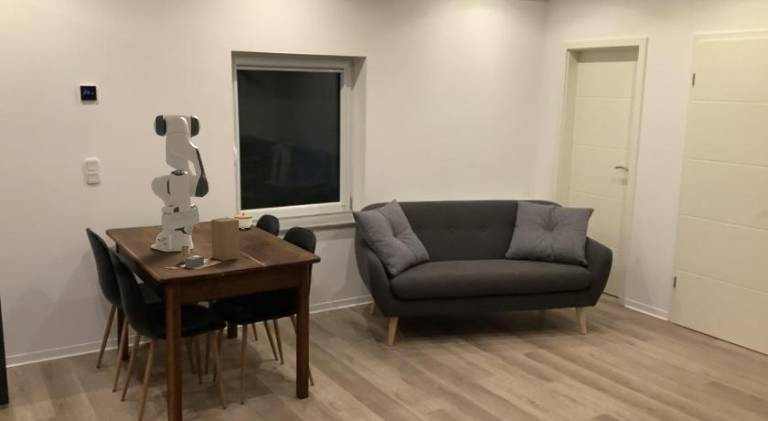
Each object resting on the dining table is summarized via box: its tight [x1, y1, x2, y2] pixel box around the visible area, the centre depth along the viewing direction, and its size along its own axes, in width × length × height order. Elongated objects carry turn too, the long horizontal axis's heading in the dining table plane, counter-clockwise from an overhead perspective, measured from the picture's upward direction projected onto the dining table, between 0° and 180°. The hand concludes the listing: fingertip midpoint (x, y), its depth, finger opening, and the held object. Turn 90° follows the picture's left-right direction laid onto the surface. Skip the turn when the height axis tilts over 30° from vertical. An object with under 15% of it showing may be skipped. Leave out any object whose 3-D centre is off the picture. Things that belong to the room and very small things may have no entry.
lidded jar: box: [233, 212, 253, 230], centre depth 406 cm, size 11×11×9 cm
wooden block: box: [210, 216, 241, 261], centre depth 328 cm, size 10×10×20 cm
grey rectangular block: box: [184, 254, 205, 269], centre depth 311 cm, size 5×7×4 cm
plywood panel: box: [179, 258, 222, 270], centre depth 315 cm, size 12×16×1 cm
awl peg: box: [180, 245, 191, 264], centre depth 318 cm, size 4×4×9 cm
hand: (181, 236), depth 302 cm, fingers open, 8 cm apart
